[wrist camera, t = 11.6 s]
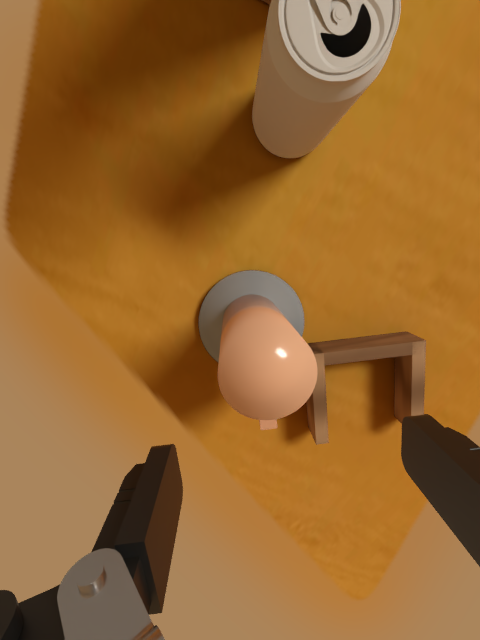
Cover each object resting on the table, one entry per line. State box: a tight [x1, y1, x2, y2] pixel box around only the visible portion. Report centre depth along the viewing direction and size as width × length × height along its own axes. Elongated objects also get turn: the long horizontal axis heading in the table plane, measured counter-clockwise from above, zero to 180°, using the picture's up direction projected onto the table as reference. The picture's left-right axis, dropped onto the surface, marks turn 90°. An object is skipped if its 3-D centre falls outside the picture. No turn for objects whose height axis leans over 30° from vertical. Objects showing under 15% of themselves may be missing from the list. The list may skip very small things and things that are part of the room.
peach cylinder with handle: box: [218, 294, 317, 430], centre depth 23 cm, size 8×6×12 cm, turn 7°
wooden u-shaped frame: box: [307, 332, 426, 444], centre depth 30 cm, size 9×10×3 cm
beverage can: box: [252, 0, 401, 158], centre depth 19 cm, size 6×6×12 cm
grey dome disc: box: [199, 270, 304, 363], centre depth 29 cm, size 10×10×1 cm
